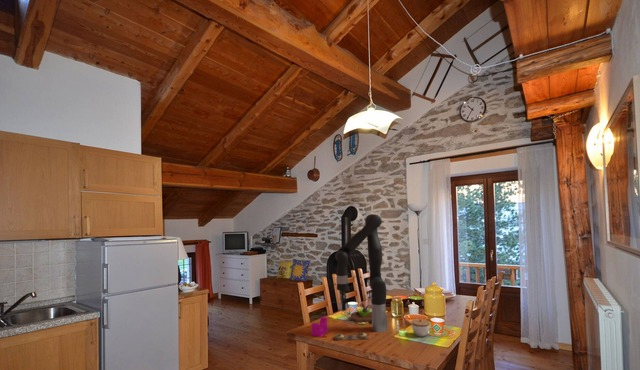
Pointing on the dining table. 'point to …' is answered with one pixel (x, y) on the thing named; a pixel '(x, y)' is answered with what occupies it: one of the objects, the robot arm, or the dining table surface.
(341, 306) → the idler gear
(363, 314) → the plant
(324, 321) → the toy block
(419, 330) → the lidded jar
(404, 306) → the dining table surface
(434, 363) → the dining table surface
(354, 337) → the gear board
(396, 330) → the dining table surface
